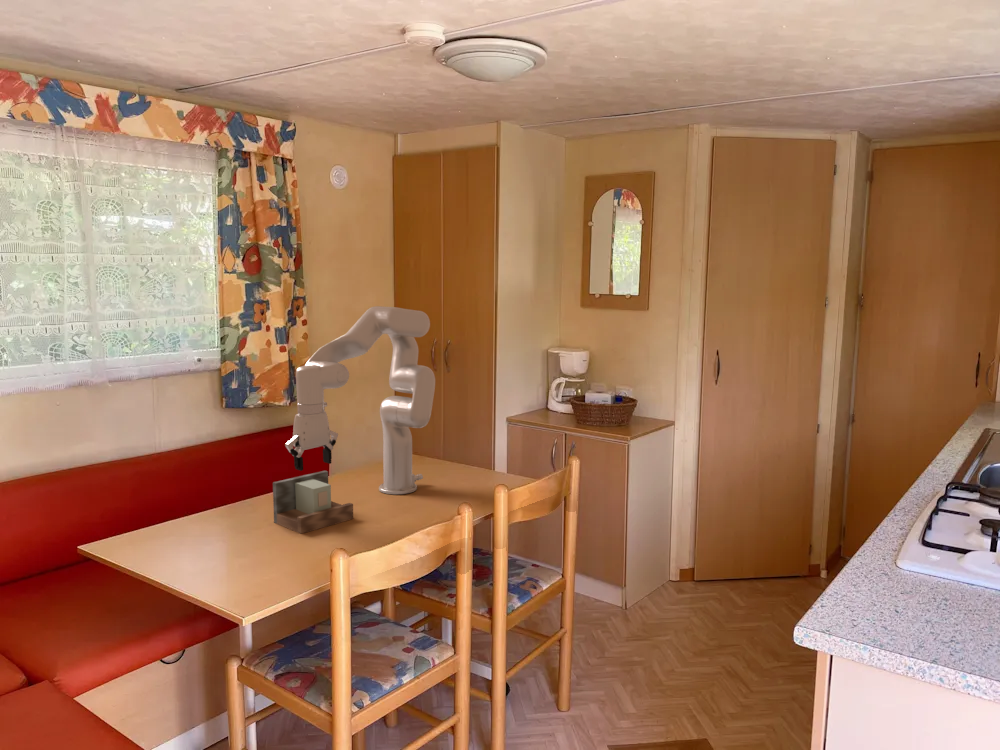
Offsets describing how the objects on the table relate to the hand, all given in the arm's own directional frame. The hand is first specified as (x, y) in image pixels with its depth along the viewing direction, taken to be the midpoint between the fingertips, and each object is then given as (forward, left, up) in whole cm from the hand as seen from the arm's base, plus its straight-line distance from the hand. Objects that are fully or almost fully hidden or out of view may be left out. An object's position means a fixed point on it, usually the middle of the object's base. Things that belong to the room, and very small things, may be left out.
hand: (313, 466), depth 226 cm
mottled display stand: (+1, 0, -16) cm, 16 cm away
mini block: (0, 0, -13) cm, 13 cm away
